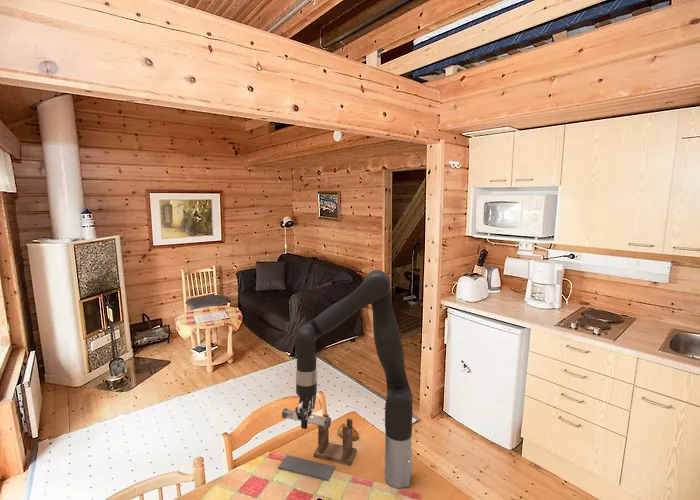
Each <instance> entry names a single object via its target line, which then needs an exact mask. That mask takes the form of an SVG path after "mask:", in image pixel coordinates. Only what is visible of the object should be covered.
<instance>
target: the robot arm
mask: <svg viewBox="0 0 700 500" xmlns="http://www.w3.org/2000/svg"><path fill="white" fill-rule="evenodd" d="M369 305H371V310H372V330H373V340H374V345H375V350H376V354H377V358H378V360H379V363H380V364H381V367H382V369H383V371H384V375H385V380H386V381H385V382H386V397H385V403H384V427H385V428H384V429H385V437H384V438H385V439H384V440H385V441H384V443H385V445H384V480H385V482H386V483H387V485H389V486H391V487H392V488H394V489H395V488H396V489H397V488H398V489H403V488H410V485H411V479H412V473H413V471H412V470H413V469H412V468H413V466H412V465H413V451H412V439H413V435H412V434H413V433H412V432H413V403H414V398H413V393H412V390H411V387H410V383H409V381H408V377H407V373H406V367H405V356H404V349H403V342H402V337H401V334H400V329H399V326H398V321H397V318H396V315H395V314H396V313H395V311H394V307H393V301H392V291H391V279H390V277H389V275H388V274H387V273H386V272H385V271H383V270H380V269H374V270H372V271H370V272H369V273H368V274H367V275H366V276H365V278H364V280H363V281H362V282H361V283H360V285H358V286H357V287H356V289H355V290H353V291H352V292H351V293H349V294H348V295H347V296H346V297H343V298H342V299H340V300H338V301H337V302H335V303H334V304H332V305H330V306H329V307H328V308H326V309H325V310H324V311H322V312H321V313H319V314H318V315H317V316H316V317H314V318H313V319H311V320H309V321H308V322H306V323H305V324H303V325H302V326H301V327H300V328H299V329H298V331H297V332H296V333H295V336H294V341H293V342H294V348H295V349H294V351H295V355H296V373H295V394H296V395H297V396H298V397H299V401H298V403H299V405H298V406H296V407H295V410H294V411H296V415H297V418H298V420H301V421H300V426H301V427H300V428H301V429H304V430H307V429H308V424H309V425H311V423H307V418H308V414H313V410H314V409H315V407H316V406H315V405H316V399H317V393H318V390H317V389H318V374H317V373H318V371H317V355H316V353H315V342H316V341H317V340H318V339H319V338H320V337H322V336H323V335H324V334H328V333H330V332H331V331H333V330H334V329H335V328H338V326H339V325H341V324H342V323H344V322H345V321H346V320H348V319H349V318H350V317H351V316H353V315H354V314H355V313H357V312H358V311H360V310H362V309H364V308H365V307H367V306H369ZM304 413H305V414H304Z"/></svg>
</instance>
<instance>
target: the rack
mask: <svg viewBox="0 0 700 500" xmlns="http://www.w3.org/2000/svg"><path fill="white" fill-rule="evenodd" d="M322 416H323V417H330V415H329V414H327V413H323V415H322ZM346 424H347V426H343V438H342V445H341V444H338V443H333V442H329V439H330V438H329V436H330V435H329V433H330V431H329V429H330V427H329V428H327V427H325V426H320V425H317V431H318V432H317V435H318V436H317V437H318V438H317V439H318V441H317V442H318V443H317V444H318V445H317V447H316V449H315V450H314V452H313V457H314V458H317V459H322V460H324V461H330V462H334V463H338V464H343V465H347V466H352V463H353V461H354V459H355V456H356V454H357V452H358V451H357V448H355V447H353V441H352V426H353V418H347V419H346Z"/></svg>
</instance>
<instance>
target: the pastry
mask: <svg viewBox="0 0 700 500" xmlns="http://www.w3.org/2000/svg"><path fill="white" fill-rule="evenodd" d="M343 426H347V422H346V423H345V422H343V423H340V425H339V426H338V428H337V430H336V431H337V434H338V436H339V437H341V438H342V439H343ZM359 435H360V434H359V432H358V430H357V429H356V428H355V427H354V426H353V425H352V442H354V441H356V440H358V439H359Z"/></svg>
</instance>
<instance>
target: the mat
mask: <svg viewBox="0 0 700 500" xmlns="http://www.w3.org/2000/svg"><path fill="white" fill-rule="evenodd" d="M277 469H278V470H283V471H287V472H289V473H294V474H298V475H301V474H302V475H301V476H305V475H306V477H309V476H310V478H313V479H318V480H321V481H326V482H329V481H330V479H331V477H332V475H333V473H334V470H335V469H336V466H335V465H330V464H327V463H323V462H319V461H314V460H309V459H306V458H301V457H298V456H293V455H289V454H286V456H284V458H283V459H282V461H281V462H280V464H278V466H277Z"/></svg>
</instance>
